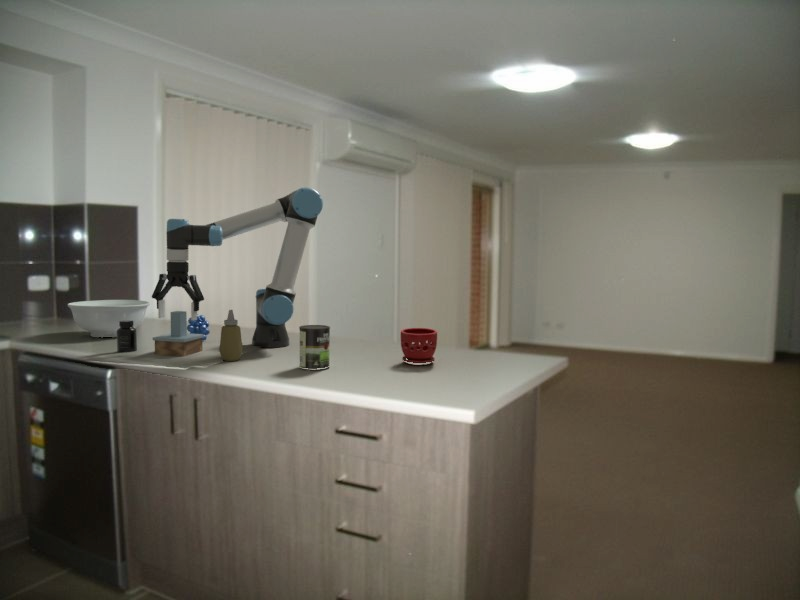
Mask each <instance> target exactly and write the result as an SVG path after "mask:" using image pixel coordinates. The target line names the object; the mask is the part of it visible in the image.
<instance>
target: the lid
mask: <svg viewBox="0 0 800 600" xmlns="http://www.w3.org/2000/svg"><path fill="white" fill-rule="evenodd" d="M187 314H188V313H187V310H186V311H185V310H184V311H183V310H174V311H170V333H166V334H162V335H158V336H153V337H152V341H155V340H157V341H173V342H187V341H191V340H195V339H199V338H202V337H204V334H190V332H189V333H187V332H188V330H187V326H188V323H187Z"/></svg>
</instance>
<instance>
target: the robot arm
mask: <svg viewBox="0 0 800 600" xmlns="http://www.w3.org/2000/svg"><path fill="white" fill-rule="evenodd" d="M323 201H324V200H323V198H322V196H321V194H320V193H319V192H318V191H317V190H316V189H314V188H312V187H300V188H298V189H296V190H294V191H292V192H290V193H288V194H287V195H285V196H283V197H279V198H277V199H276V200H275V201H274V202H273V203H270V204H267V205H263V206H260V207H258V208H257V207H256V208H254V209H251V210H248V211H246V212H242V213H239V214H235V215H232V216H229V217H227V218H224V219H223V218H222V219H220V220H218V221H214V222H211V223H208V224H203V225H199V224H195V225H194V224H190V223H189V220H188V219H184V218H169V219H168V220H166V233H165V234H166V260H167V262H166V272H167V274H166V273H159V277H158V281H157V283H156V286H155V289H154V290H153V292H152V295H151V298H152V299H154V300H156V309H157V310H158V319H164V318H166V313H165V312H166V305H165V304H166V302H165V301H166V300H165V299H164V298H165V297H166V296H167V294H168V293H169V292H170V291H171V289H172V288H176V287H177V288H182V289H184V291H185V292H186V294H187V295H188V296H189V298H190V299H191V300H192V302H190V303H191V304H190V306H191V307H190V315H191V317H190V318H191V320H197V314H198V311H200V302H202V301H204V300H205V297H204V295H203V292H202V291H201V288H200V286H199V284H198V280H197V275H196V274H192V275H191V274H190V275H189V266H190V265H189V262H188V261H189V246H202V247H205V246H206V247H207V246H208V247H220V246H222V244H223V241H224V240H227V239H230V238H233V237H236V236H239V235H242V234H244V233H248V232H251V231H254V230H257V229H260V228H263V227H266V226H269V225H271V224H276V223H279V222H283V223H287V226H286V230H285V233H284V238H283V239H282V243H281V248H280V250H279V251H280V252H279V255H278V258H277V262H276V265H275V269H274V271H273V272H274V273H273V276H272V280H271V283H269V284H268V285H266V287H265V288H259V289H257V290H256V294H255V300H256V301H255V304H256V305H255V313H256V314H255V316H256V317H255V319H256V321H255V324H256V325H255V329H254V332H253V336H252V338H251V346H253V347H260V348H272V349H273V348H282V347H288V346H290V337H289V334H288V330H287V328H286V323H287V322H288V321H290V320H291V318H292V317H293V315H294V310H295V309H294V301H295V298H296V291H295V290H294V287H295V284H296V280H297V276H298V272H299V270H300V265H301V263H302V262H301V261H302V258H303V254H304V252H305V248H306V244H307V242H308V241H307V240H308V237H309V233H310V230H311V229H313V228H315V226H316V224H317V220H318V216H319V215H320V213H322V212H321V211H322V209H323V206H324V202H323ZM166 280H167V282H166ZM287 345H288V346H287Z"/></svg>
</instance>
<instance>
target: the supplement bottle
mask: <svg viewBox="0 0 800 600" xmlns="http://www.w3.org/2000/svg"><path fill="white" fill-rule="evenodd" d="M119 326H120V328H119V329H118V330H117V337H116V351H117V352H118V353H133V352H137V351H138V336H137V335H138V333H137V329H136V328H134V327H133V326H134V324H133V321H132V320H125V321H119Z"/></svg>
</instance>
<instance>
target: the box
mask: <svg viewBox="0 0 800 600" xmlns="http://www.w3.org/2000/svg"><path fill="white" fill-rule="evenodd" d="M200 352H203V340H202V338H199V339H195V340H191V341H187V342H173V341H157V340H154V355H161V356H171V357H172V356H173V357H187V356H190V355H193V354H197V353H200Z"/></svg>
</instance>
